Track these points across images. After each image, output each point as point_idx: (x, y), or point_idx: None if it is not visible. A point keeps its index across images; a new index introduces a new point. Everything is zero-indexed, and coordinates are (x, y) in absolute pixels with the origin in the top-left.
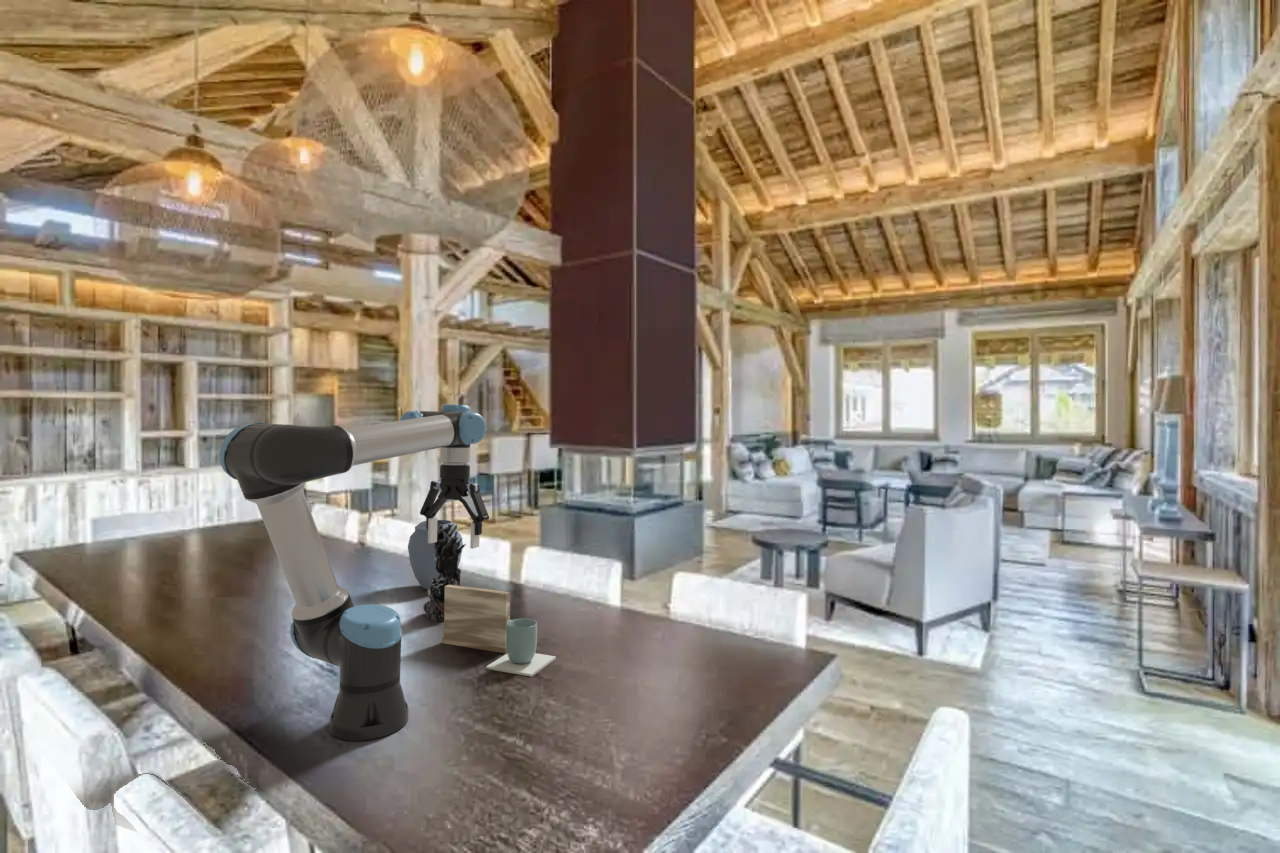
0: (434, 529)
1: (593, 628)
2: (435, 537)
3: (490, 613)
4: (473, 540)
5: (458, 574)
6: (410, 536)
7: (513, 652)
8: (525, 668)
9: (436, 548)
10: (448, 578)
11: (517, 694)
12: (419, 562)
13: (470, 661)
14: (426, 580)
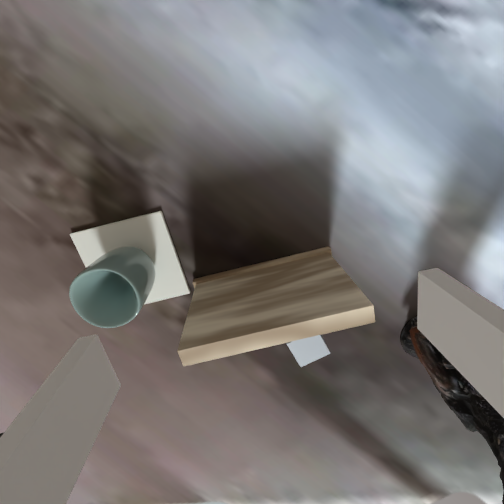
0: (484, 368)
1: (172, 428)
2: (437, 335)
3: (226, 308)
4: (51, 381)
5: (458, 414)
6: None
7: (114, 249)
8: (100, 246)
9: None
10: (468, 391)
11: (20, 162)
12: None
13: (213, 217)
14: None
